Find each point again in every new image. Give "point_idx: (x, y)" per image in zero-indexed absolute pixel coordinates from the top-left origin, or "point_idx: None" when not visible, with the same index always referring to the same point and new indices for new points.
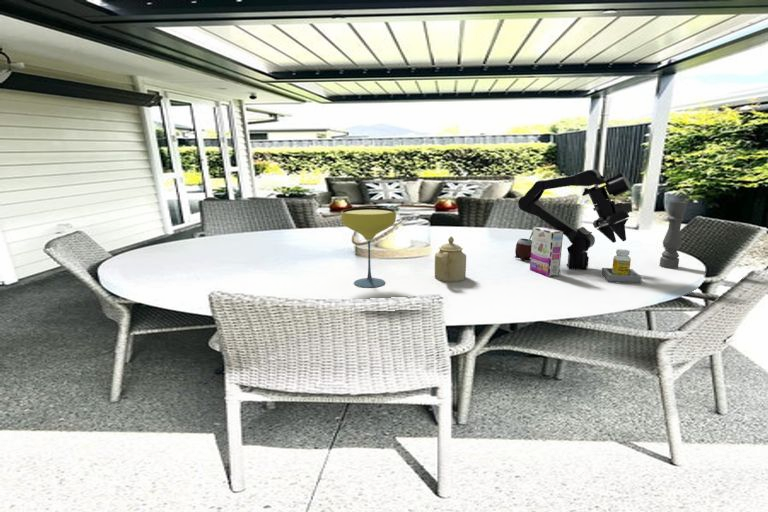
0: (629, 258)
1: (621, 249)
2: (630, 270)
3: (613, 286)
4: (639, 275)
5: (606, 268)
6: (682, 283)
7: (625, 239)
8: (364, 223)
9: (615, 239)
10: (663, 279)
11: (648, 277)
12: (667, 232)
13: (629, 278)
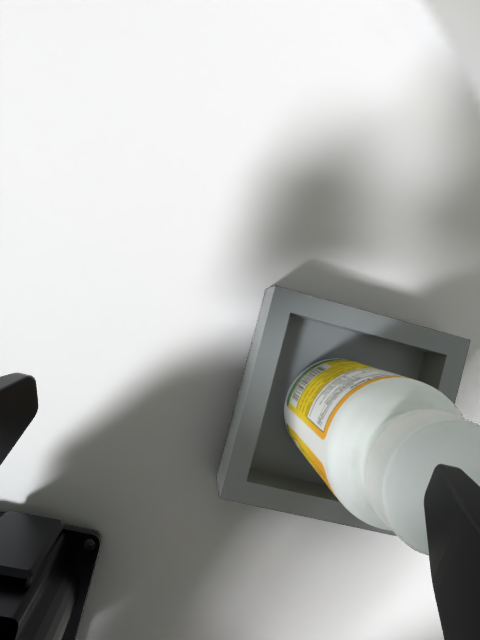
0: (462, 416)
1: (394, 476)
2: (302, 315)
3: None
4: (441, 335)
5: (244, 474)
6: (443, 73)
7: (465, 485)
8: None
9: (10, 392)
10: (356, 128)
11: (306, 195)
12: None
13: None
